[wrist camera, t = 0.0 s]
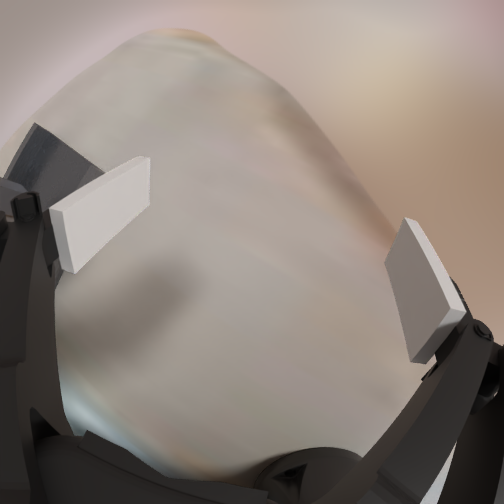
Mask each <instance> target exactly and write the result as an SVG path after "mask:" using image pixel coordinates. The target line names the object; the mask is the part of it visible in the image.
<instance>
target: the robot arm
mask: <svg viewBox="0 0 504 504" xmlns="http://www.w3.org/2000/svg"><path fill="white" fill-rule="evenodd" d="M10 203H11V208H12V213H13V217H14V222H7V219H6V215H5V212H4V211H0V504H420V502H421V501H422V499H423V497H424V496H425V495H426V493H427V492H428V490H429V488H430V487H431V485H432V484H433V482H434V481H435V479H436V477H437V476H438V474H439V472H440V471H441V469H442V467H443V466H444V464H445V462H446V460H447V458H448V457H449V455H450V453H451V451H452V449H453V447H454V445H455V443H456V441H457V443H456V447H455V451H454V455H453V458H452V462H451V465H450V468H449V472H448V475H447V478H446V481H445V484H444V487H443V489H442V492H441V495H440V497H439V500H438V503H437V504H504V345H503V346H501V345H499V344H497V343H495V342H494V338H493V335H492V332H491V331H490V330H489V328H488V327H487V326H486V325H485V324H484V323H483V322H481V321H479V320H476V319H473V317H472V315H471V313H470V310H469V308H468V306H467V304H466V302H465V301H464V298H463V296H462V294H461V292H460V290H459V288H458V286H457V284H456V283H455V282H454V281H453V280H452V279H451V277H449V276H448V274H447V272H446V270H445V268H444V266H443V264H442V263H441V261H440V259H439V257H438V255H437V254H436V252H435V250H434V249H433V247H432V245H431V243H430V242H429V240H428V238H427V237H426V235H425V234H424V232H423V230H422V229H421V227H420V226H419V224H418V222H417V221H414V220H411V219H408V218H404V219H403V222H402V224H401V226H400V229H399V231H398V233H397V236H396V238H395V240H394V243H393V245H392V247H391V249H390V251H389V254H388V256H387V258H386V260H385V265H386V268H387V272H388V275H389V278H390V282H391V285H392V289H393V292H394V296H395V299H396V303H397V307H398V311H399V315H400V319H401V323H402V327H403V331H404V336H405V340H406V344H407V349H408V354H409V359H410V362H413V363H421V364H426V363H427V362H428V361H429V360H430V359H431V357H432V356H433V355H434V354H435V356H436V360H437V362H436V363H435V364H434V366H433V367H432V368H431V369H430V370H429V371H428V372H427V373H426V374H425V375H424V376H423V378H422V379H421V380H422V381H423V382H422V383H421V385H420V386H419V388H418V389H417V391H416V392H415V394H414V395H413V396H412V398H411V399H410V401H409V402H408V403H407V405H406V406H405V408H404V409H403V410H402V412H401V413H400V414H399V416H398V417H397V418H396V419H395V421H394V422H393V423H392V424H391V426H390V427H389V428H388V429H387V431H386V432H385V433H384V434H383V436H382V437H381V438H380V439H379V440H378V441H377V443H376V444H375V445H374V446H373V447H372V448H371V449H370V451H369V452H368V453H367V454H366V455H365V456H364V457H363V458H362V457H361V456H359V455H357V454H356V453H353V452H351V451H348V450H344V449H339V448H315V449H308V450H304V451H300V452H296V453H293V454H290V455H288V456H285V457H283V458H281V459H279V460H277V461H276V462H274V463H272V464H271V465H270V466H268V467H267V468H266V469H265V470H264V471H263V472H262V473H261V474H260V475H259V477H258V478H257V480H256V482H255V485H254V489H251V488H246V487H241V486H237V485H232V484H228V483H224V482H211V481H194V480H182V479H172V478H168V477H166V476H164V475H162V474H161V473H159V472H157V471H156V470H154V469H153V468H151V467H150V466H148V465H147V464H146V463H144V462H143V461H141V460H140V459H139V458H137V457H136V456H134V455H133V454H132V453H130V452H129V451H128V450H126V449H124V448H122V447H120V446H118V445H116V444H114V443H112V442H110V441H107V440H105V439H103V438H101V437H100V436H98V435H96V434H94V433H92V432H90V431H88V430H87V431H86V433H85V435H84V437H81V436H74V434H73V432H72V429H71V427H70V425H69V423H68V421H67V418H66V416H65V413H64V408H63V402H62V396H61V389H60V382H59V374H58V364H57V353H56V339H55V311H54V295H55V266H54V261H55V260H56V259H57V258H58V257H59V259H60V263H61V267H62V269H63V270H66V271H68V272H71V273H73V274H76V273H77V272H78V271H79V270H80V269H81V268H82V267H83V266H84V265H85V264H86V263H87V262H88V261H89V260H90V259H91V258H92V257H93V256H94V255H95V254H96V253H97V252H98V251H99V250H100V249H101V248H102V247H103V246H104V245H105V244H106V243H107V242H109V241H110V240H111V239H112V238H113V237H114V236H115V235H116V234H117V233H118V232H119V231H120V230H122V229H123V228H124V227H125V226H126V225H127V224H128V223H129V222H131V221H132V220H133V219H134V218H135V217H136V216H137V215H138V214H140V213H141V212H142V211H143V210H144V209H145V208H147V207H148V206H149V205H150V157H143V156H137V157H135V158H133V159H131V160H129V161H127V162H125V163H123V164H122V165H120V166H118V167H116V168H114V169H112V170H110V171H109V172H107V173H105V174H103V175H102V176H100V177H98V178H96V179H95V180H93V181H91V182H89V183H88V184H86V185H84V186H83V187H81V188H79V189H78V190H76V191H75V192H73V193H71V194H70V195H68V196H67V197H65V198H63V199H62V200H60V201H59V202H57V203H56V204H54V205H53V206H51V207H50V208H49V209H47V210H46V211H44V212H43V213H42V208H41V202H40V196H39V193H38V192H35V191H29V192H25V193H21V194H19V195H17V196H15V197H14V198H13V199H12V200H11V201H10ZM496 392H497V394H496V395H495V397H494V394H495V393H496Z"/></svg>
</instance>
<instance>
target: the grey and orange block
mask: <svg viewBox="0 0 504 504" xmlns="http://www.w3.org/2000/svg"><path fill="white" fill-rule="evenodd" d="M25 192H28V191H27V190H26V189H25V188H24V187H23V186H22V185H21V184H18V183H15V182H12V181H9V180H7V179H4V178H1V177H0V211H4V212H5V215H6V219H7V222H14V217H13V213H12V208H11V203H10V201H11V200H12V199H13V198H14V197H15V196H17V195H19V194H21V193H25Z"/></svg>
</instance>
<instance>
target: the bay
mask: <svg viewBox="0 0 504 504" xmlns="http://www.w3.org/2000/svg"><path fill="white" fill-rule="evenodd" d="M103 174H105V172H103V171H102V170H101V169H99V168H98V167H97V166H95V165H94V164H92V163H91V162H90V161H88V160H87V159H86V158H84V157H83V156H82V155H80V154H79V153H77V152H76V151H75V150H73V149H72V148H71V147H69V146H68V145H67V144H65V143H64V142H63V141H61V140H60V139H59V138H57V137H56V136H55V135H53V134H52V133H51V132H49V131H47V130H46V129H44V128H43V127H41V126H40V125H38V124H36V123H35V122H34V124H33V126H32V127H31V129H30V130H29V132H28V134H27V135H26V137H25V139H24V140H23V142H22V144H21V145H20V147H19V149H18V151H17V152H16V154H15V156H14V158H13V160H12V162H11V163H10V165H9V167H8V169H7V171H6V173H5V175H4V177H3V178H4V179H7V180H9V181H12V182H15V183H18V184H21V185H22V186H23V187H24V188H25V189H26V190H27V191H28V192H29V191H35V192H38V193H39V196H40V202H41V208H42V213H43V212H44V211H46V210H47V209H49V208H50V207H51V206H53V205H54V204H56V203H57V202H59V201H60V200H62V199H63V198H65V197H67V196H68V195H70V194H71V193H73V192H75V191H76V190H78V189H79V188H81V187H83V186H84V185H86V184H88V183H89V182H91V181H93V180H95V179H96V178H98V177H100V176H102V175H103ZM54 266H55V289H56V287H57V284H58V282H59V280H60V278H61V276H62V273H63V271H64V270H63V269H62V267H61V263H60V259H59V257H58V258H57V259H56V260H55V261H54Z"/></svg>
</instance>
